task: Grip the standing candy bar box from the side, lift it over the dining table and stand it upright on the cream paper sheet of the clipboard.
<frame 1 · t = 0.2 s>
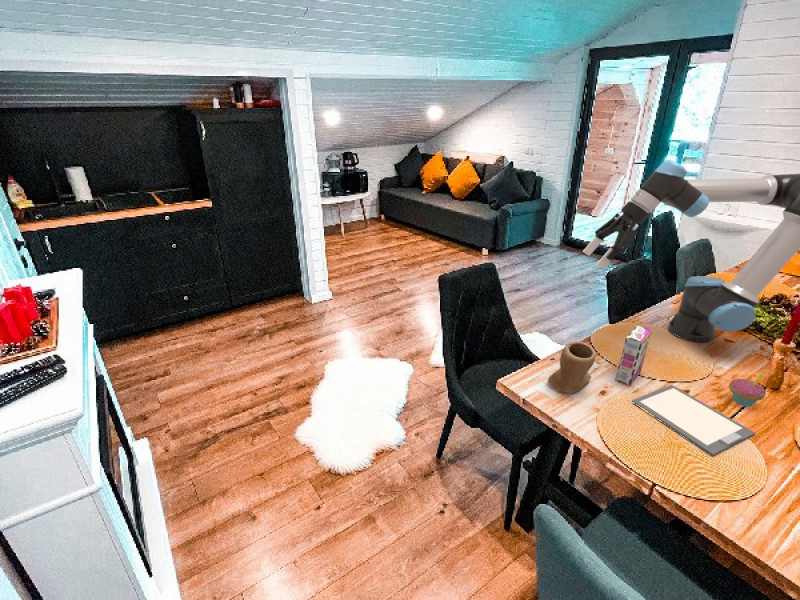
hand: (592, 259, 142), 35 cm above the table, tool tilted 35°, fingers open, 13 cm apart
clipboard: (689, 417, 121), on the table
cupcake: (741, 402, 127), on the table
candy bar box: (628, 376, 140), on the table
stone cup: (571, 384, 137), on the table
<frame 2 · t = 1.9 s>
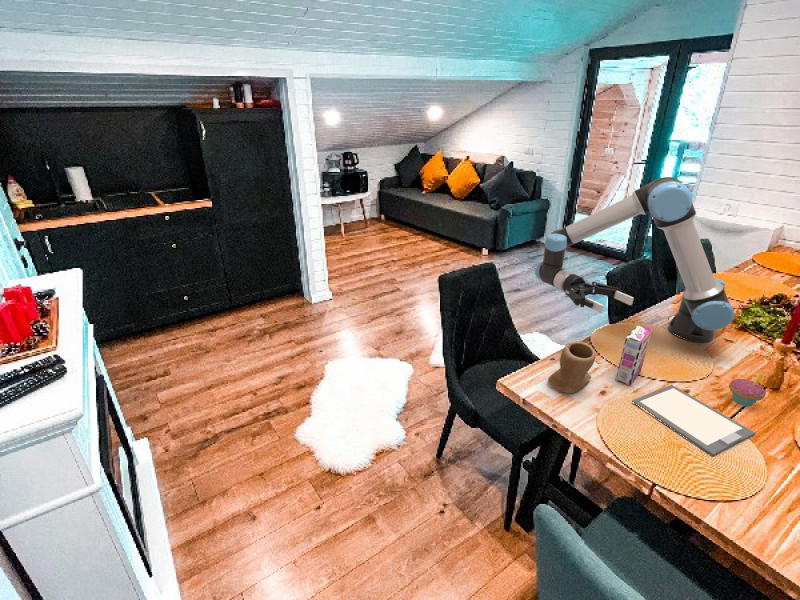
hand: (617, 305, 139), 22 cm above the table, tool horizontal, fingers open, 13 cm apart
nothing on the table moved.
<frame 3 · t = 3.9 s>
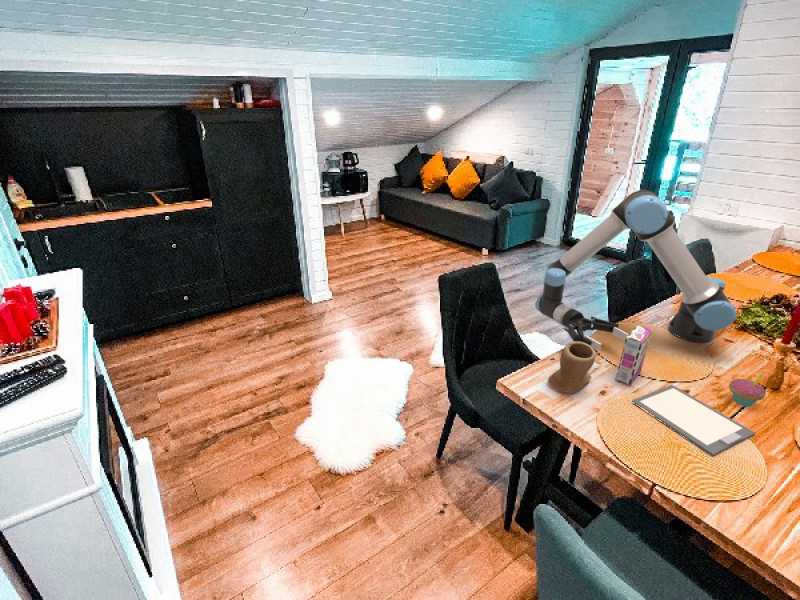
hand: (615, 343, 142), 9 cm above the table, tool horizontal, fingers open, 13 cm apart
nothing on the table moved.
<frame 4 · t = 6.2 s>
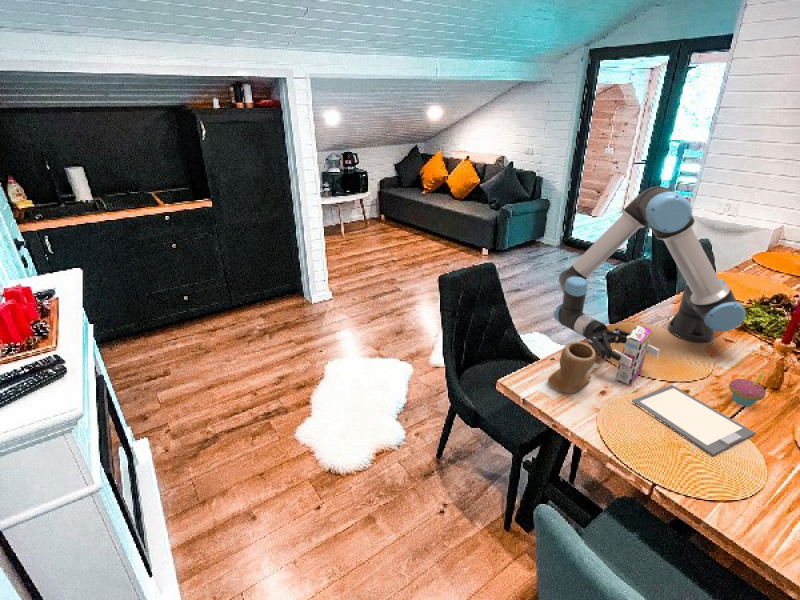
hand: (644, 358, 133), 9 cm above the table, tool horizontal, fingers closed on candy bar box, 12 cm apart
candy bar box: (628, 376, 140), on the table, touching gripper
everything else where it was.
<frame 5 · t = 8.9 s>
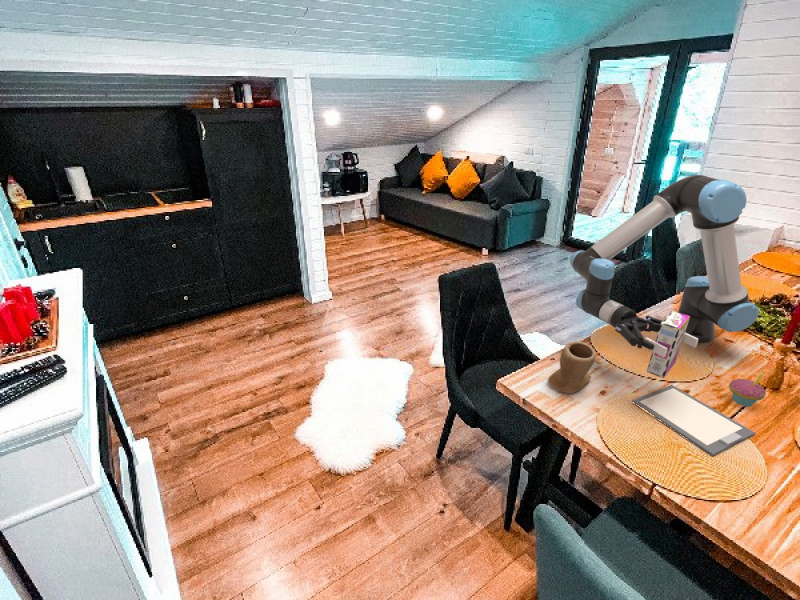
hand: (681, 348, 118), 20 cm above the table, tool horizontal, fingers closed on candy bar box, 12 cm apart
candy bar box: (661, 368, 125), point 11 cm above the table, touching gripper
everything else where it was.
when the fingers open (11 cm above the table, at t = 11.8 s): candy bar box stays where it is, resting on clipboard.
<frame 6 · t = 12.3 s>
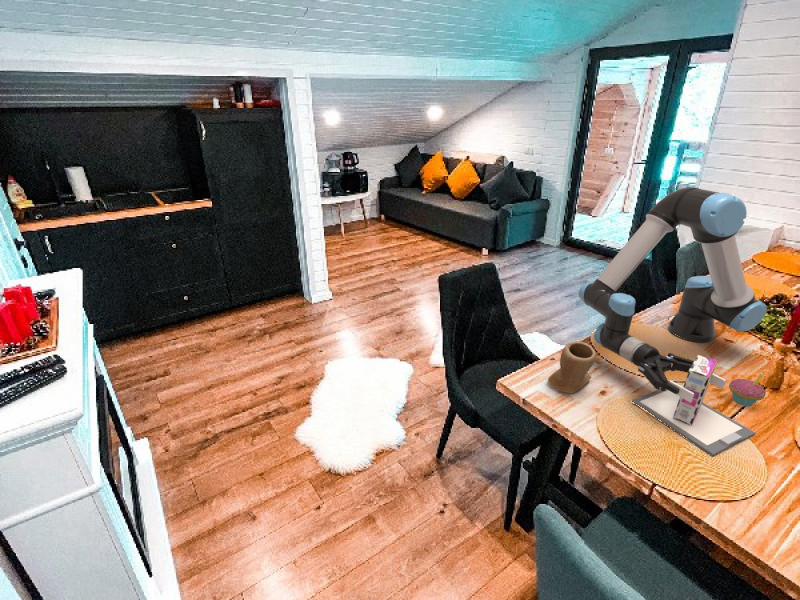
hand: (708, 391, 114), 11 cm above the table, tool horizontal, fingers open, 13 cm apart
candy bar box: (687, 413, 121), point 1 cm above the table, touching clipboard
everything else where it was.
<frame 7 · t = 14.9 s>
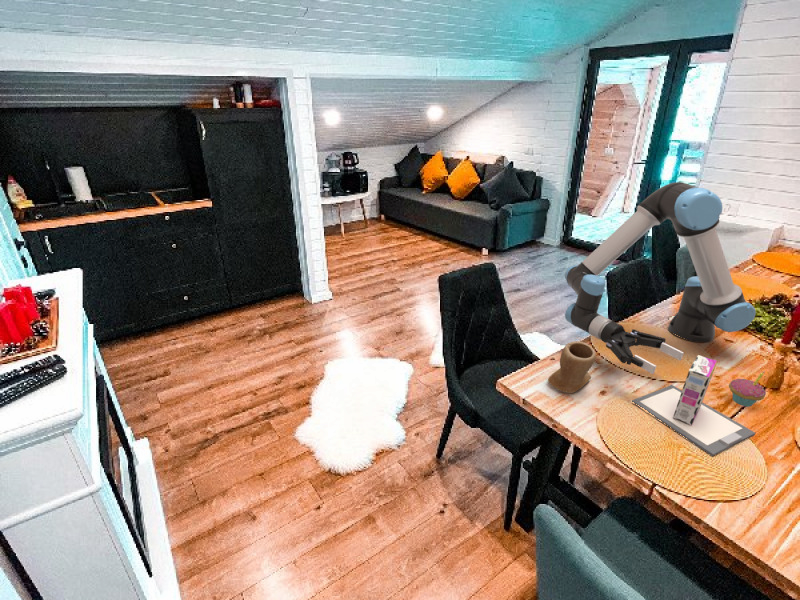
hand: (668, 363, 125), 12 cm above the table, tool horizontal, fingers open, 13 cm apart
nothing on the table moved.
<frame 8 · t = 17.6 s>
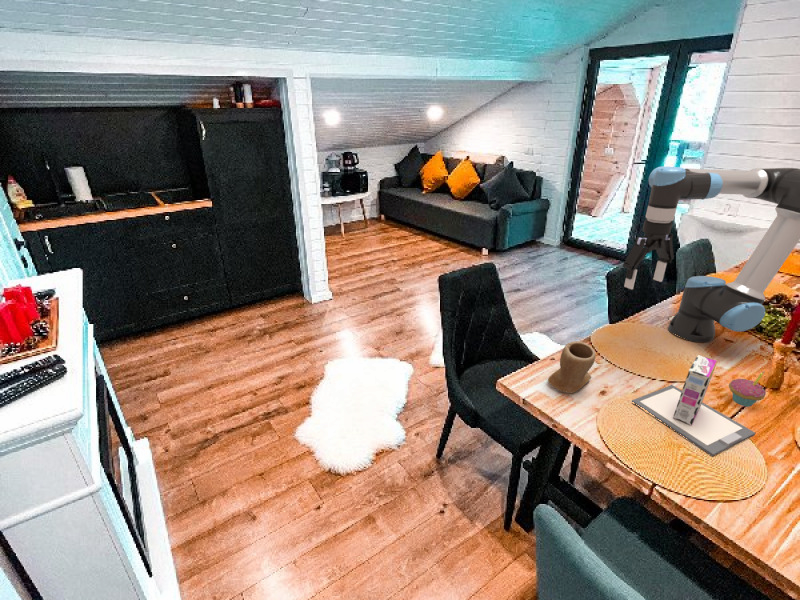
hand: (643, 284, 137), 29 cm above the table, tool pointing down, fingers open, 13 cm apart
nothing on the table moved.
at the end: candy bar box inside the target area on the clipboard (1.0 cm from its centre), point 0.8 cm above the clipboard's base; candy bar box tilted 0°; the gripper is holding nothing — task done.
